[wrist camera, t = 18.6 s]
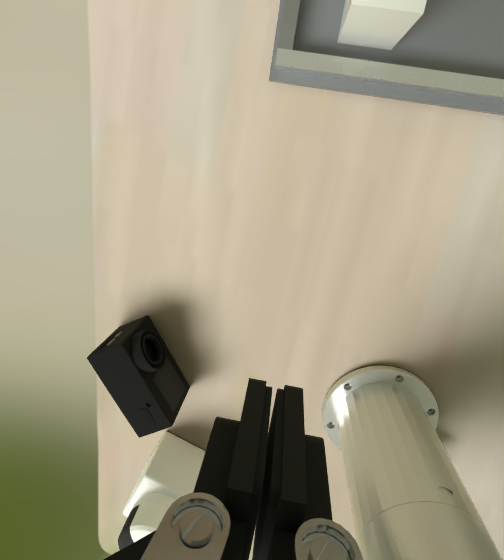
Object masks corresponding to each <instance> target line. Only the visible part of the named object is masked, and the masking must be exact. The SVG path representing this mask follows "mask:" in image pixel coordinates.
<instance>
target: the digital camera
mask: <svg viewBox="0 0 504 560" xmlns="http://www.w3.org/2000/svg"><path fill="white" fill-rule="evenodd" d="M87 359H88V360H89V362H90V364H91V365H92V367H93V368H94V370H95V371H96V373H97V374H98V376H99V378H100V379H101V381H102V382H103V384H104V385H105V387H106V388H107V390H108V391H109V393H110V394H111V396H112V397H113V399H114V400H115V402H116V404H117V405H118V407H119V408H120V410H121V411H122V413H123V414H124V416H125V417H126V419H127V420H128V422H129V423H130V425H131V426H132V428H133V429H134V431H135V432H136V434H137V435H138V437H142V436H145V435H148V434H151V433H154V432H157V431H160V430H163V429H166V428H169V427H171V426H172V425H173V423H174V421H175V419H176V417H177V415H178V412H179V410H180V408H181V406H182V403H183V401H184V399H185V397H186V395H187V392H188V390H189V388H190V386H189V384H188V382H187V381H186V379H185V377H184V376H183V374H182V372H181V370H180V369H179V367H178V365H177V364H176V362H175V360H174V358H173V357H172V355H171V353H170V352H169V350H168V348H167V346H166V345H165V343H164V341H163V340H162V338H161V336H160V334H159V333H158V331H157V329H156V328H155V326H154V324H153V323H152V321H151V319H150V317H149V316H145V317H143V318H140V319H138V320H136V321H133V322H131V323H129V324H126V325H124V326H121V327H119V328H117V329H116V330H115V331H114V332H113V333H112V334H111V335H110V336H109V337H108V338H107V339H106V340H105V341H104V342H103V343H102V344H100V345H99V346H98V347H97V348H96V349H95V350H94V351H93V352H92V353H91V354H90V355H89V356H88V357H87Z"/></svg>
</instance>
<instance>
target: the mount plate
mask: <svg viewBox="0 0 504 560" xmlns="http://www.w3.org/2000/svg"><path fill="white" fill-rule="evenodd" d="M284 2H285V0H281V1H280V8H279V15H278V22H277V29H276V36H275V43H274V50H273V56H272V63H271V70H270V77H269V81H271V82H278V83H285V84H292V85H299V86H306V87H313V88H320V89H326V90H333V91H340V92H347V93H354V94H361V95H368V96H375V97H382V98H389V99H396V100H402V101H409V102H416V103H423V104H430V105H437V106H444V107H451V108H458V109H465V110H471V111H478V112H485V113H492V114H499V115H504V103H501V102H494V101H487V100H480V99H473V98H466V97H459V96H452V95H445V94H438V93H431V92H424V91H417V90H410V89H403V88H396V87H389V86H382V85H375V84H368V83H361V82H354V81H347V80H340V79H333V78H326V77H319V76H312V75H305V74H298V73H291V72H284V71H277V70H276V67H275V62H276V56H277V49H278V42H279V35H280V29H281V22H282V15H283V8H284ZM344 5H345V0H301V6H300V13H299V19H298V25H297V31H296V37H295V44H294V50H296V51H303V52H310V53H317V54H324V55H332V56H339V57H346V58H353V59H360V60H367V61H375V62H382V63H389V64H396V65H403V66H410V67H418V68H425V69H432V70H439V71H446V72H454V73H461V74H468V75H475V76H482V77H489V78H497V79H504V0H427V2H426V5H425V9H424V13H423V15H422V16H421V17H420V18H419V19H418V20H417V21H416V23H415V24H414V25H413V26H412V27H411V28H410V29H409V30H408V32H407V33H406V34H405V35H404V36H403V37H402V38H401V39H400V41H399V42H398V43H397V44H396V45H395V46H394V47H393V49H392V50H386V49H378V48H371V47H364V46H356V45H349V44H342V43H337V41H338V36H339V31H340V26H341V20H342V15H343V10H344Z"/></svg>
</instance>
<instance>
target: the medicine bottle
mask: <svg viewBox="0 0 504 560" xmlns="http://www.w3.org/2000/svg"><path fill="white" fill-rule="evenodd" d="M205 452H206V451H204V450H202V449H200V448H198V447H196V446H194V445H192V444H190V443H188V442H187V441H185V440H183V439H181V438H179V437H177V436H175V435H173V434H171V433H169V432H165V433H164V434H163V436H162V438H161V440H160V441H159V443H158V445H157V446H156V448H155V450H154V452H153V453H152V455H151V457H150V458H149V460H148V462H147V464H146V465H145V467H144V469H143V471H142V473H141V475H140V477H139V479H138V481H137V484H136V486H135V488H134V490H133V492H132V494H131V496H130V498H129V500H128V502H127V504H126V506H125V508H124V510H123V514H124V515H125V516H127V517H128V518H127V520H126V522H125V525H124V527H123V529H122V531H121V533H120V535H119V538H118V545H119V549H120V550H122V549H123V548H125V547H127V546H129V545H130V544H132V543H134V542H136V541H138V540H139V539H141V538H143V537H145V536H146V535H148V534H150V533H152V532H153V531H155V530H157V528H158V526H159V524H160V522H161V521H162V519H163V517H164V515H165V513H166V511H167V510H168V508H169V507H170V506H171V504H172V503H173V502H174V501H176V500H177V499H178V498H180V497H181V496H184V495H186V494H189V493H193V491H194V488H195V485H196V481H197V478H198V475H199V471H200V468H201V465H202V461H203V458H204V455H205Z"/></svg>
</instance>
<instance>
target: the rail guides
mask: <svg viewBox="0 0 504 560" xmlns="http://www.w3.org/2000/svg"><path fill="white" fill-rule="evenodd" d="M300 6H301V0H285V2H284V8H283V15H282V22H281V29H280V35H279V42H278V49H277V56H276V62H275V67H276V70H277V71H284V72H291V73H298V74H305V75H312V76H319V77H326V78H333V79H340V80H347V81H354V82H361V83H368V84H375V85H382V86H389V87H396V88H403V89H410V90H417V91H424V92H431V93H438V94H445V95H452V96H459V97H466V98H473V99H480V100H487V101H494V102H501V103H504V79H497V78H489V77H482V76H475V75H468V74H461V73H454V72H446V71H439V70H432V69H425V68H418V67H410V66H403V65H396V64H389V63H382V62H375V61H367V60H360V59H353V58H346V57H339V56H332V55H324V54H317V53H310V52H303V51H296V50H294V44H295V37H296V31H297V25H298V19H299V13H300Z"/></svg>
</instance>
